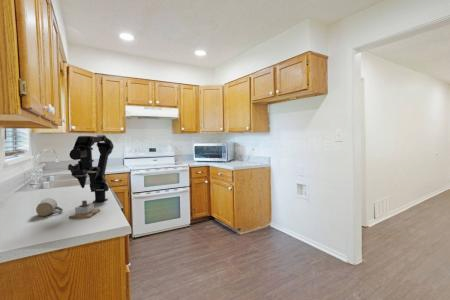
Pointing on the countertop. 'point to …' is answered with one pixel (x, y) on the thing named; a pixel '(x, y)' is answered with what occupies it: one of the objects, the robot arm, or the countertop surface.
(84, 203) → the keeper
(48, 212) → the ceramic mug
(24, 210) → the countertop surface
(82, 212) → the grey square socket
